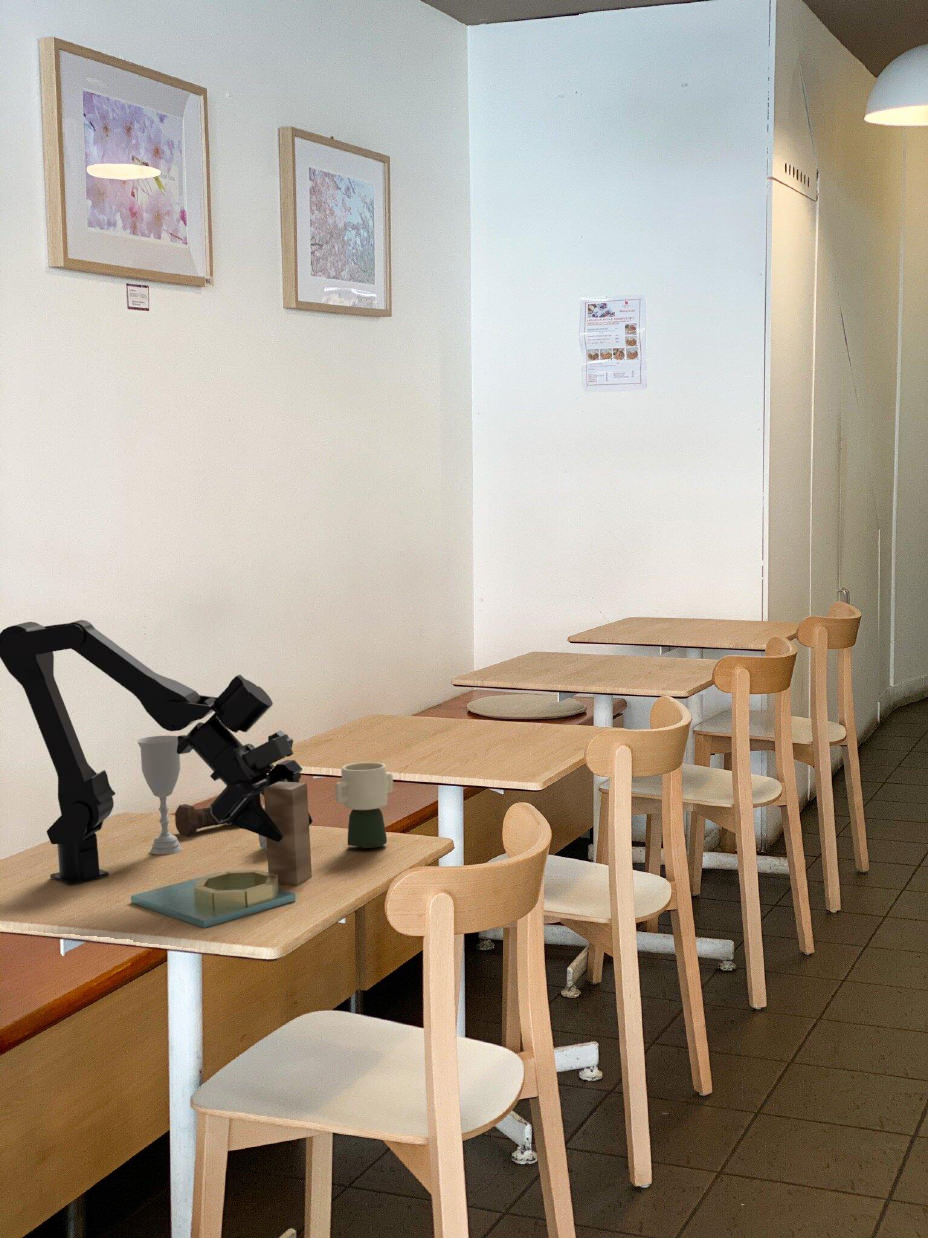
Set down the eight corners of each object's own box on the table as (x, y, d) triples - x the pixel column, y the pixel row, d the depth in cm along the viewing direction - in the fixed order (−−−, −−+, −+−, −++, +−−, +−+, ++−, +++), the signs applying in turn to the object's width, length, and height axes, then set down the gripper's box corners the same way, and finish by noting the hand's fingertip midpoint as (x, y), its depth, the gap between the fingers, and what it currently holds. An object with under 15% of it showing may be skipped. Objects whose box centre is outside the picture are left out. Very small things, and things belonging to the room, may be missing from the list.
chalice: (197, 847, 223) (191, 737, 222) (167, 858, 218) (160, 744, 216) (164, 843, 227) (158, 734, 226) (134, 853, 222) (127, 741, 220)
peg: (268, 883, 201) (263, 788, 200) (283, 874, 205) (278, 781, 204) (297, 885, 200) (292, 789, 198) (311, 876, 204) (306, 782, 202)
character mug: (381, 836, 225) (378, 758, 224) (408, 844, 220) (404, 763, 219) (326, 850, 219) (321, 768, 217) (352, 858, 213) (347, 774, 212)
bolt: (262, 830, 241) (184, 844, 231) (248, 812, 244) (171, 825, 235) (270, 804, 238) (192, 817, 229) (256, 786, 242) (179, 798, 232)
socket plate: (131, 902, 194) (129, 881, 194) (220, 878, 205) (219, 858, 204) (204, 928, 181) (202, 905, 181) (295, 900, 192) (294, 879, 192)
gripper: (224, 728, 193) (299, 809, 190) (287, 706, 210) (357, 780, 207) (178, 782, 196) (252, 863, 194) (244, 756, 214) (312, 830, 211)
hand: (296, 831), depth 201 cm, fingers open, 9 cm apart
